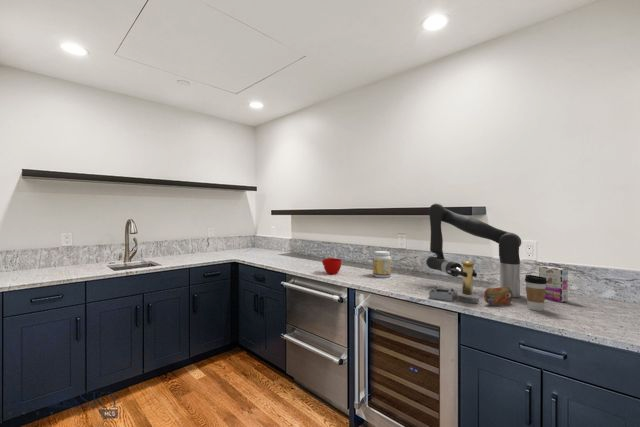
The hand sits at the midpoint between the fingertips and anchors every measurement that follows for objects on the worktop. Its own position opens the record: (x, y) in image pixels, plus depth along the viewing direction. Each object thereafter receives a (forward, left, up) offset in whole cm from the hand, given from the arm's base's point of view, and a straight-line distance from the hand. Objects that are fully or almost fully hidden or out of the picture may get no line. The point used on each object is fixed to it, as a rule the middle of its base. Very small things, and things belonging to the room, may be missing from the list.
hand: (471, 274), depth 152 cm
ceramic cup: (+94, -25, -14) cm, 98 cm away
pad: (+2, -2, -13) cm, 14 cm away
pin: (+2, -2, -10) cm, 10 cm away
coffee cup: (-26, -4, -14) cm, 30 cm away
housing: (+14, -1, -13) cm, 19 cm away
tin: (-11, -3, -14) cm, 18 cm away
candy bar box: (-35, -28, -14) cm, 47 cm away
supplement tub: (+59, -35, -14) cm, 69 cm away
